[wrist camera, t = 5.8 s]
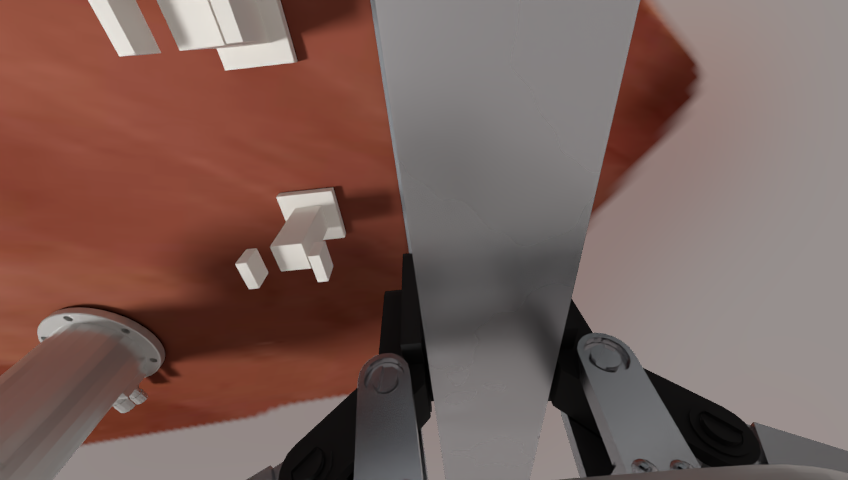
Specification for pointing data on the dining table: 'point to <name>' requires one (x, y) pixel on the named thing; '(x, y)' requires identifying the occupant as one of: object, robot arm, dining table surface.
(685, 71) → the dining table surface
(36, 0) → the dining table surface
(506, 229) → the steel rail
